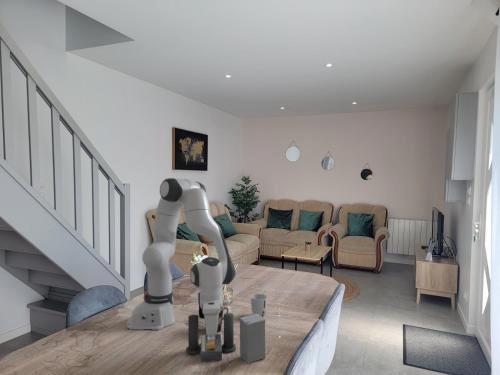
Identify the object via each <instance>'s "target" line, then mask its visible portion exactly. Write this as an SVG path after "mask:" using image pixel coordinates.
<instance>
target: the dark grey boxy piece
mask: <svg viewBox="0 0 500 375" xmlns="http://www.w3.org/2000/svg"><path fill="white" fill-rule="evenodd" d="M206 343H207V334H201V339H200V347H201V352H200V362H201V363H202V362H213V361H214V362H216V361H217V362H218V361H223V351H222V345H223V344H222V334H221V333H217V334H216V335H215V348H212V349H208V350H207V346H206Z"/></svg>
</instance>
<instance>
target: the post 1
mask: <svg viewBox="0 0 500 375" xmlns="http://www.w3.org/2000/svg"><path fill="white" fill-rule="evenodd" d="M199 316H200V315H198V314H190V315H188V319H187V322H188V325H187V326H188V330H187V332H188V346H187V347H186V348H185V353H186V355H188V354H189V356H196V355H197V356H198V355H199V354H201V345H199V344H200V343H199V341H200V340H199V337H200V336H199V330H200V329H199V325H200V324H199V323H200V322H199V320H200V319H199Z"/></svg>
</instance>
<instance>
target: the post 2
mask: <svg viewBox="0 0 500 375" xmlns="http://www.w3.org/2000/svg"><path fill="white" fill-rule="evenodd" d="M223 317H224V319H223V344H221V345H222V353H224V354H225V353H226V354H231V353H234V352H235V351H236V350H237V345H236V344H235V343H234V342H235V341H234V335H235V333H234V331H235V330H234V324H235V323H234V314H233V313H231V312H228V313H227V312H225V313H223Z"/></svg>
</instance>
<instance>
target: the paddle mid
mask: <svg viewBox="0 0 500 375" xmlns="http://www.w3.org/2000/svg"><path fill="white" fill-rule="evenodd" d="M211 341H214V343H215V336H214V337H213V338H209V337H207V342H211Z"/></svg>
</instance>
